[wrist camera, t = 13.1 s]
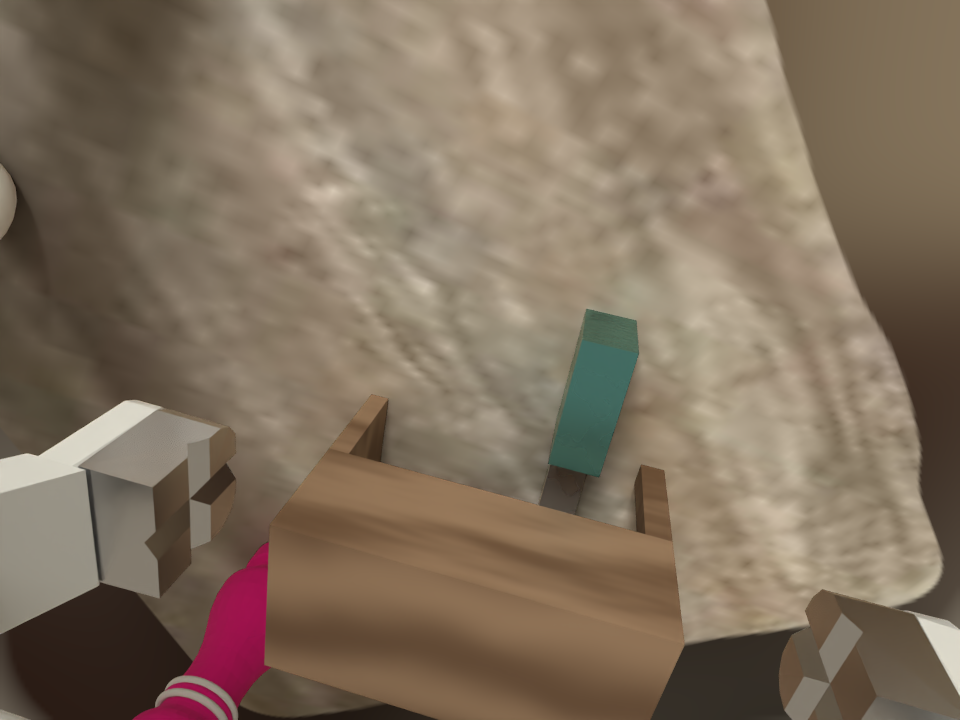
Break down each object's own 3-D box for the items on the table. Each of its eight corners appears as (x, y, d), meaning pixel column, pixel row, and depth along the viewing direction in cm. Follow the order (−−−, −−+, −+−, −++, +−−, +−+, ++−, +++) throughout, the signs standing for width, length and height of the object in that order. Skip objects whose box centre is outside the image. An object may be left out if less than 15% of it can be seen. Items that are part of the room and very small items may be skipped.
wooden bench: (371, 394, 43) (269, 524, 30) (664, 470, 41) (684, 644, 28) (358, 509, 47) (264, 664, 35) (622, 583, 45) (623, 777, 33)
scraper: (561, 302, 38) (554, 333, 33) (661, 326, 37) (667, 360, 33) (497, 559, 47) (484, 610, 42) (577, 581, 46) (572, 636, 41)
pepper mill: (349, 591, 51) (204, 870, 33) (283, 612, 53) (114, 881, 36) (300, 523, 49) (117, 779, 31) (233, 548, 51) (28, 798, 34)
